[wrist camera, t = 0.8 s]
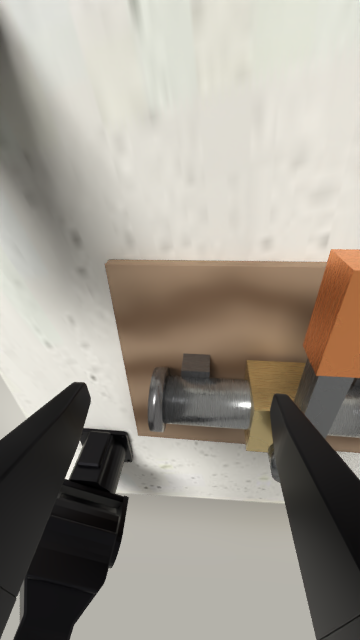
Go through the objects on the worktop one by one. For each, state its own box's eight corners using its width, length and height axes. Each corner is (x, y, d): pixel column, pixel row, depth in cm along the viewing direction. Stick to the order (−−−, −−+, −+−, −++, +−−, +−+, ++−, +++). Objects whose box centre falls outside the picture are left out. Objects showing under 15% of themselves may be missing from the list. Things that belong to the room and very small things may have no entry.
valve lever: (305, 460, 20) (314, 491, 18) (264, 456, 20) (269, 487, 18) (397, 249, 11) (434, 271, 9) (321, 249, 11) (342, 270, 9)
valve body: (380, 404, 25) (427, 479, 20) (162, 390, 27) (149, 455, 22) (405, 361, 22) (470, 436, 17) (158, 350, 24) (142, 413, 19)
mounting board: (379, 446, 30) (384, 454, 30) (140, 428, 33) (138, 435, 32) (506, 264, 18) (520, 269, 17) (109, 259, 21) (104, 264, 20)
